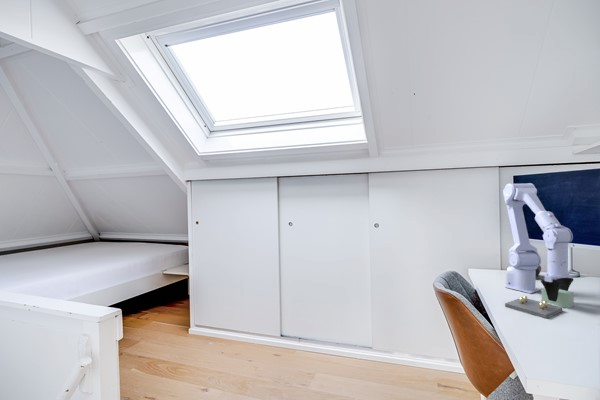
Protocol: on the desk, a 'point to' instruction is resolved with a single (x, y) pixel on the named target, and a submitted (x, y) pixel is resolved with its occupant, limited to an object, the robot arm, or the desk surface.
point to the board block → (560, 298)
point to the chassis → (534, 307)
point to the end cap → (538, 270)
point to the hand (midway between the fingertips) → (557, 298)
